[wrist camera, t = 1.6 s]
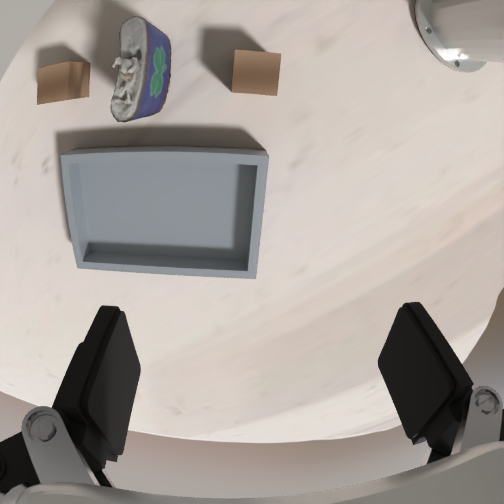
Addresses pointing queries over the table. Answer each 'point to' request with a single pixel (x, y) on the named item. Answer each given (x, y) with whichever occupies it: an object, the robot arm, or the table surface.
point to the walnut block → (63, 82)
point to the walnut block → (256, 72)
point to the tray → (166, 209)
